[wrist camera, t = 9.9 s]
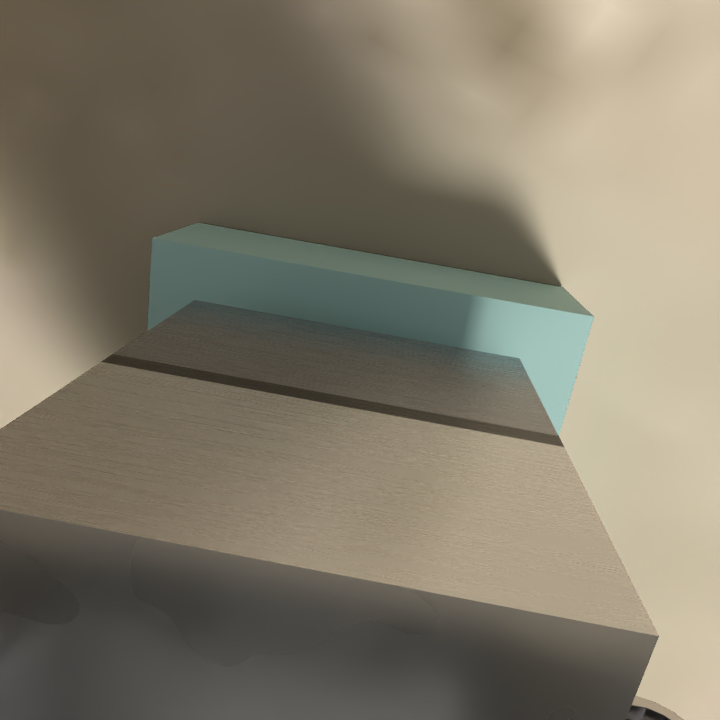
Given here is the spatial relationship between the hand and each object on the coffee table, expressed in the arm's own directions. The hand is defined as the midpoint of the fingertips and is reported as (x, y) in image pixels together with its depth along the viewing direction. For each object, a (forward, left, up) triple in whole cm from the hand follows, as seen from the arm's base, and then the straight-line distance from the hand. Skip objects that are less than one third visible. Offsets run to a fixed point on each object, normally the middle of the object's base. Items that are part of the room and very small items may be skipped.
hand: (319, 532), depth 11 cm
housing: (0, 0, -1) cm, 1 cm away
